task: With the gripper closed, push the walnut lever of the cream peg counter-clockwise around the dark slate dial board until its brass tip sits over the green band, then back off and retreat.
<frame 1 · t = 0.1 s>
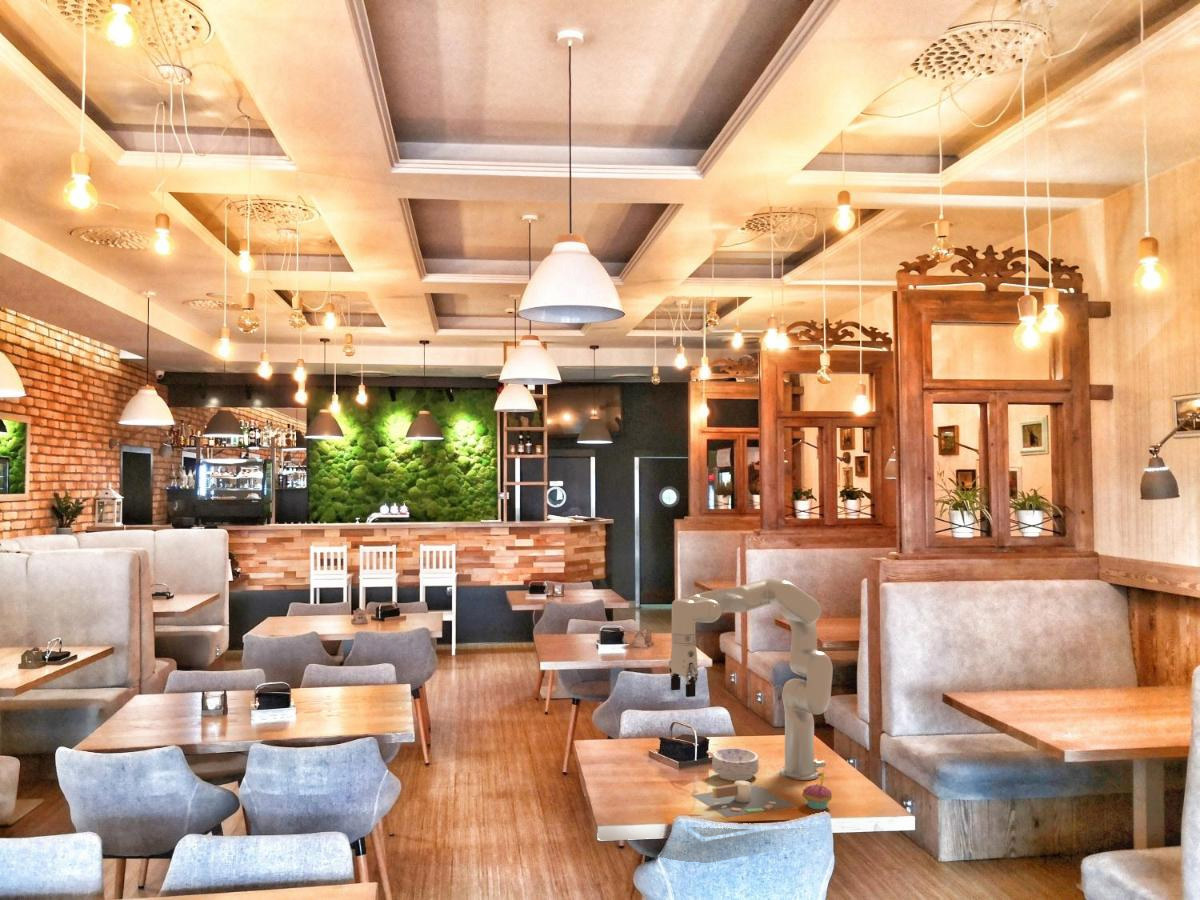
hand: (682, 693, 291), 31 cm above the table, fingers open, 9 cm apart
dial board: (742, 803, 281), on the table
light grey bowl: (735, 779, 305), on the table
cupcake: (817, 810, 277), on the table
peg: (731, 793, 279), point 4 cm above the table, hinge at 0.0°
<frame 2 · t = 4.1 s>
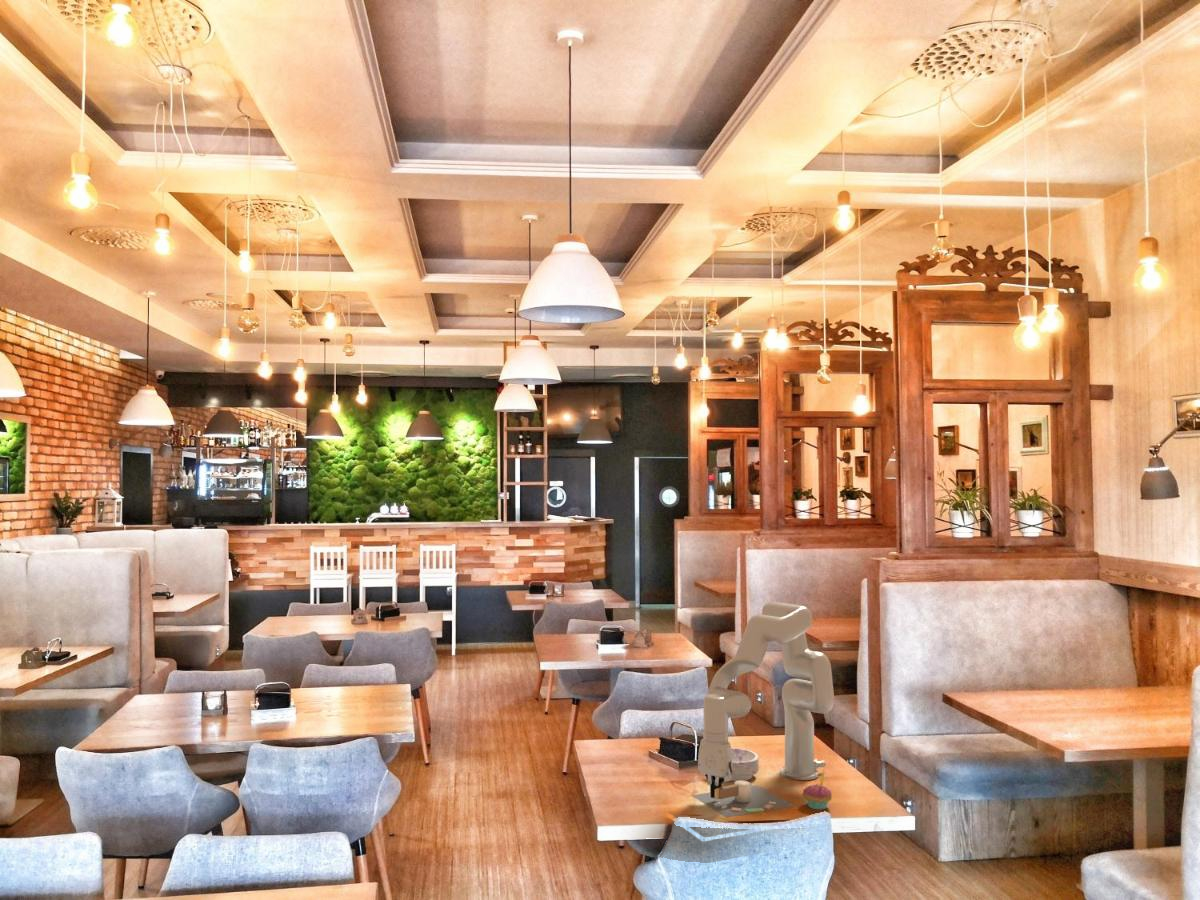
hand: (715, 797, 280), 2 cm above the table, fingers closed
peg: (732, 793, 279), point 4 cm above the table, hinge at 6.8°, touching gripper
everything else where it was.
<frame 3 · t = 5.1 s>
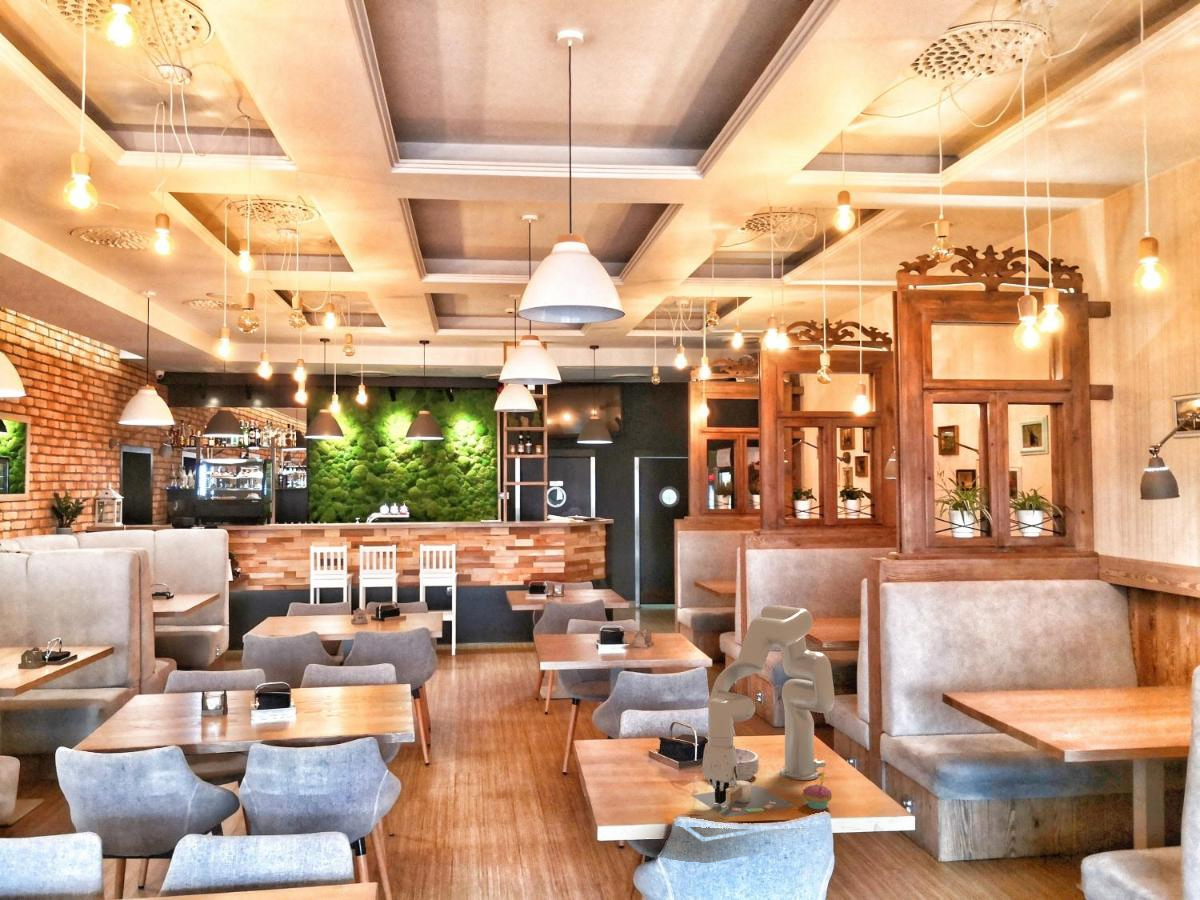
hand: (720, 802, 276), 2 cm above the table, fingers closed
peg: (737, 795, 278), point 4 cm above the table, hinge at 32.9°, touching gripper
everything else where it was.
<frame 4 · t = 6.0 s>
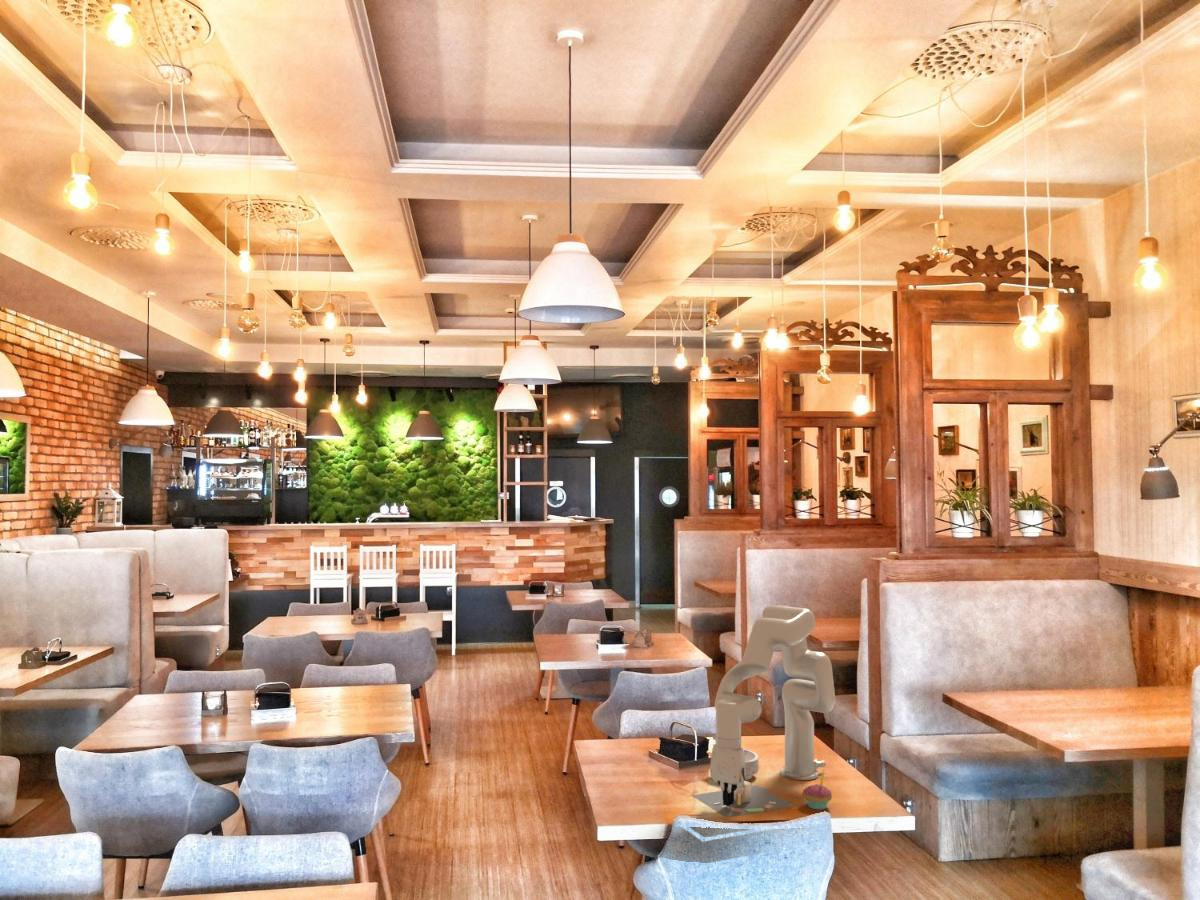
hand: (728, 804, 274), 2 cm above the table, fingers closed
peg: (741, 795, 277), point 4 cm above the table, hinge at 51.3°, touching gripper
everything else where it was.
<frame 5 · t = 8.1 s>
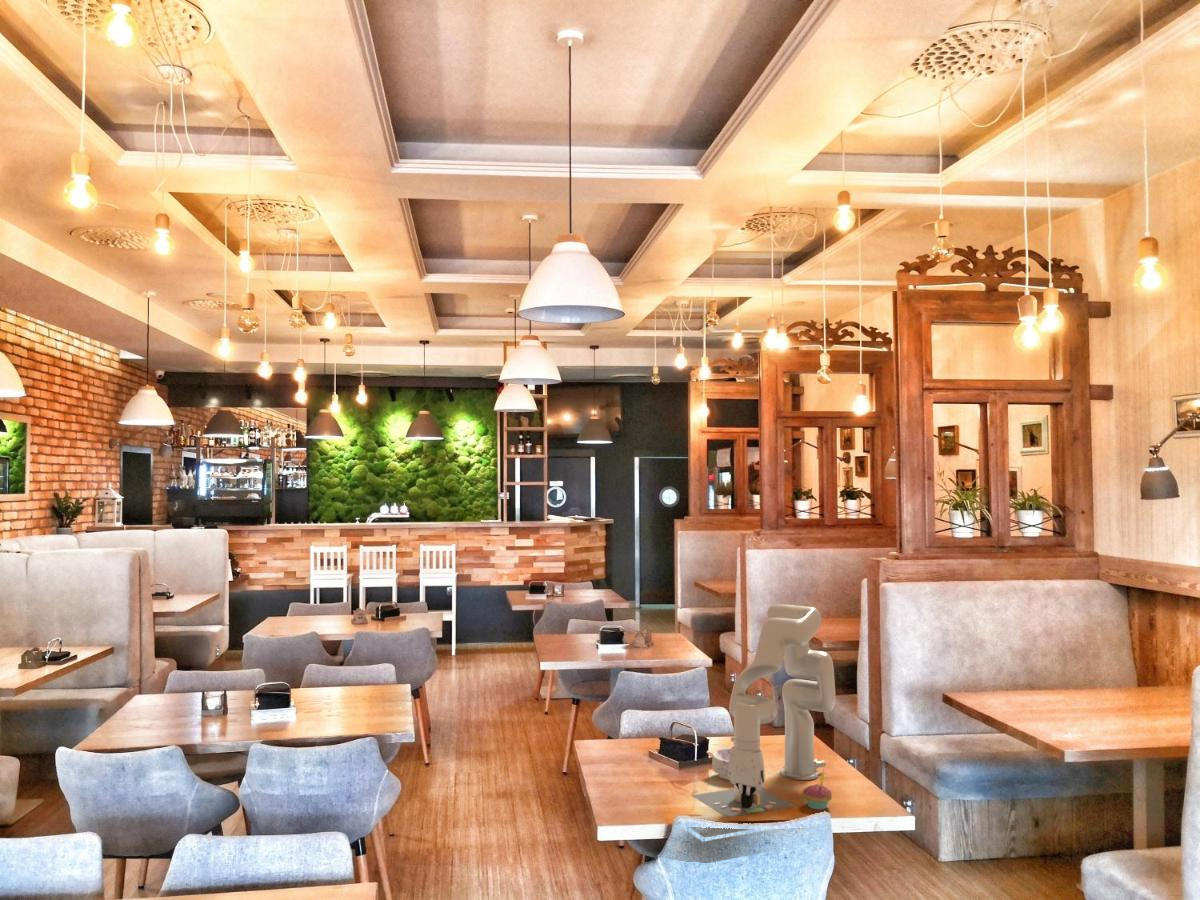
hand: (746, 806, 272), 2 cm above the table, fingers closed
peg: (748, 795, 277), point 4 cm above the table, hinge at 83.7°, touching gripper
everything else where it was.
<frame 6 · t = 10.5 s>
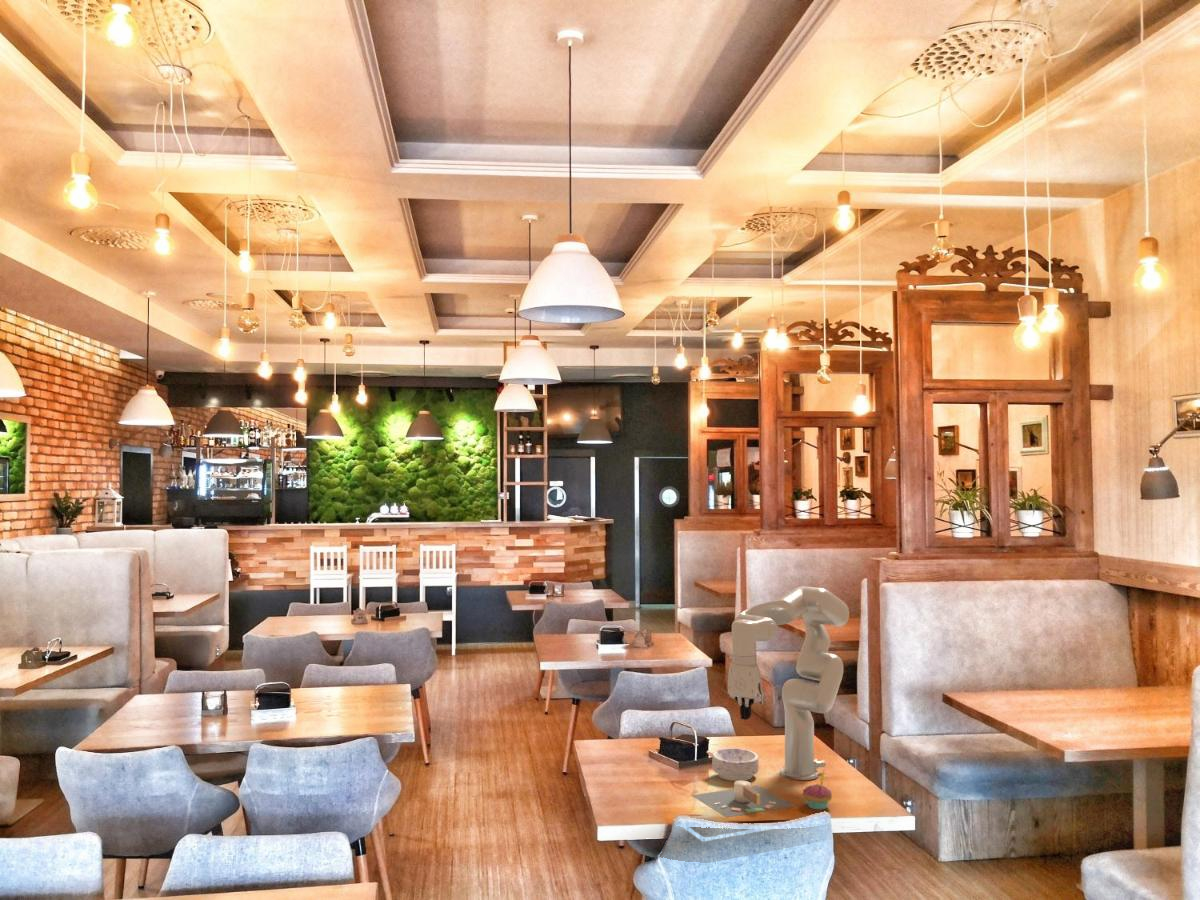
hand: (745, 718, 289), 24 cm above the table, fingers closed
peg: (748, 795, 277), point 4 cm above the table, hinge at 84.1°
everything else where it was.
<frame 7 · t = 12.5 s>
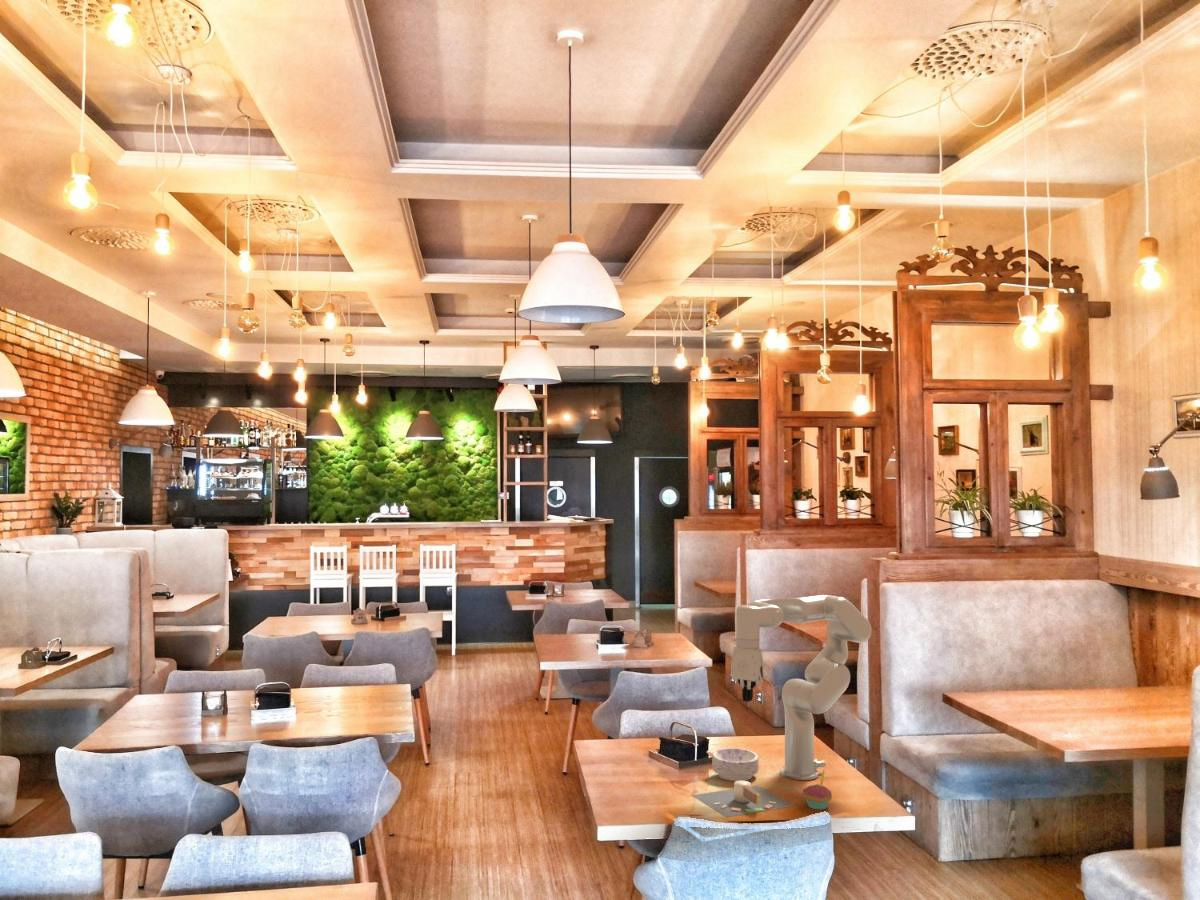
hand: (747, 700, 299), 27 cm above the table, fingers closed
nothing on the table moved.
at the end: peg at +84° (first picture: +0°) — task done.
